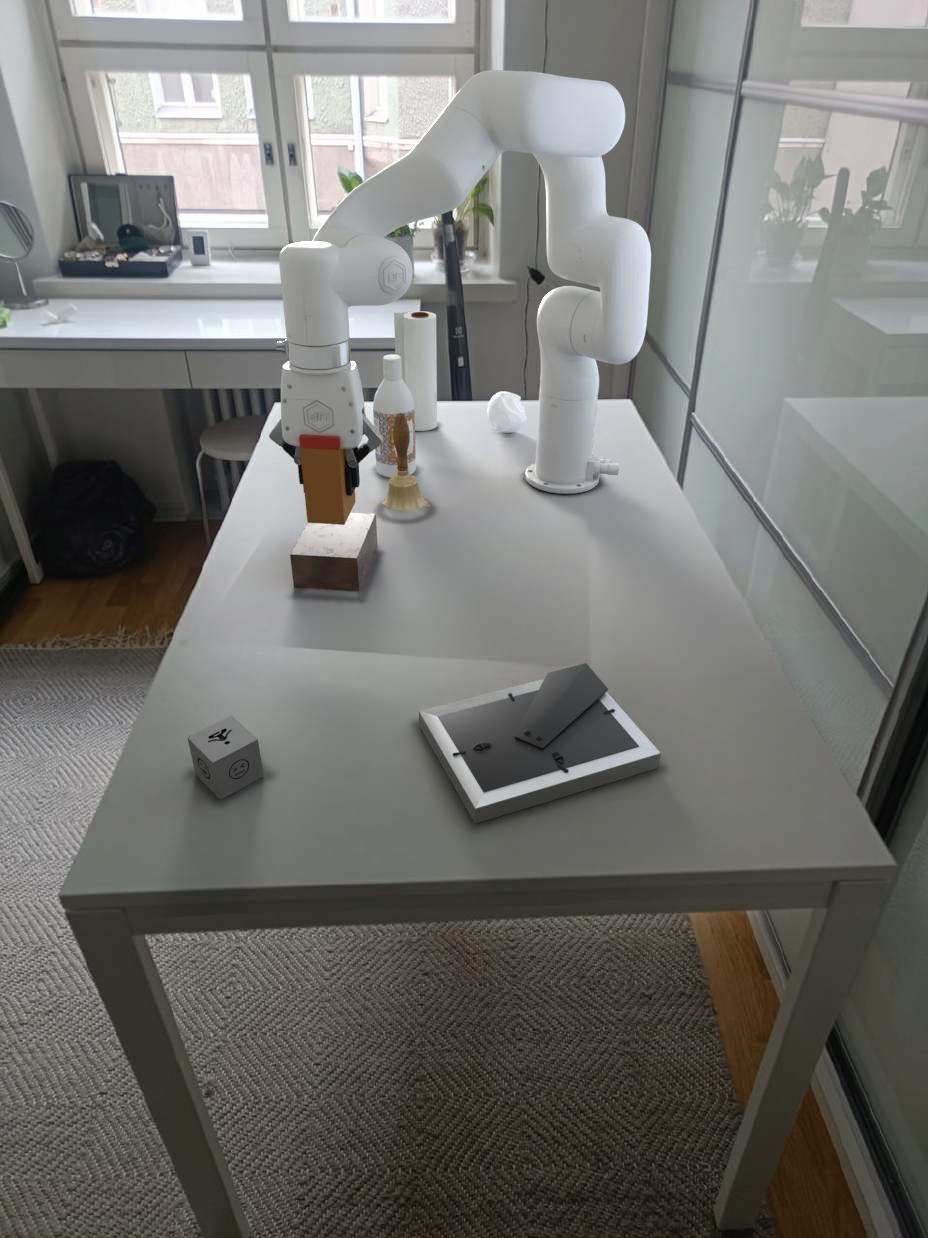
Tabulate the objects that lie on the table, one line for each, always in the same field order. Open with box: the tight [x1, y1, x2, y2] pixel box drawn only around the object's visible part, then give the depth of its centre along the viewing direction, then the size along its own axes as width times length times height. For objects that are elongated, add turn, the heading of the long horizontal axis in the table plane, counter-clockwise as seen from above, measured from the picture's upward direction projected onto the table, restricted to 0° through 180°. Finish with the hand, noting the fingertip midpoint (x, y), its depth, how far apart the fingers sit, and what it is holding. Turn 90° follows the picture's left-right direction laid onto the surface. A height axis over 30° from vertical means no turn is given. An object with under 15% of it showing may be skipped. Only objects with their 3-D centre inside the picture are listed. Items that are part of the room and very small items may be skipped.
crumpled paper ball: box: [486, 390, 528, 434], centre depth 167 cm, size 8×8×8 cm
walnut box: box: [289, 512, 379, 593], centre depth 122 cm, size 9×13×6 cm
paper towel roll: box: [393, 310, 438, 432], centre depth 165 cm, size 7×6×21 cm
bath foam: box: [372, 354, 417, 479], centre depth 147 cm, size 7×7×20 cm
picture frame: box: [418, 662, 662, 825], centre depth 93 cm, size 16×3×21 cm
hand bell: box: [381, 413, 431, 513], centre depth 136 cm, size 8×8×16 cm
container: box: [299, 434, 356, 525], centre depth 115 cm, size 11×7×13 cm
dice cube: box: [187, 714, 265, 801], centre depth 88 cm, size 5×5×5 cm
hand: (330, 488), depth 116 cm, fingers closed on container, 5 cm apart
